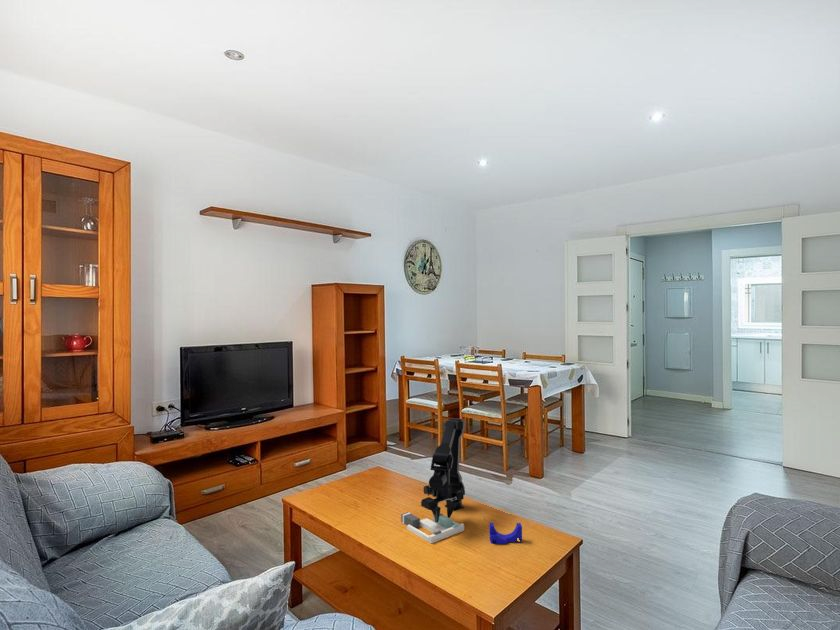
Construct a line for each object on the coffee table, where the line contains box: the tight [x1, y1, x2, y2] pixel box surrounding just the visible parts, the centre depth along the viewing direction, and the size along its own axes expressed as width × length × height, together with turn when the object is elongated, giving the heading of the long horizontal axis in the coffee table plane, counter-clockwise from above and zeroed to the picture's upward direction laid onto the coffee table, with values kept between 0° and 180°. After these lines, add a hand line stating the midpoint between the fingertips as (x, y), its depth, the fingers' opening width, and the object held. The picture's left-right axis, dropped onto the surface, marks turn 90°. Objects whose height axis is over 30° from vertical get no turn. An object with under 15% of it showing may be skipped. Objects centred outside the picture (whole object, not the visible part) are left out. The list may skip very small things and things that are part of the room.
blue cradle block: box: [488, 522, 523, 545], centre depth 181 cm, size 12×4×6 cm, turn 89°
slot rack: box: [406, 517, 465, 544], centre depth 190 cm, size 17×15×3 cm
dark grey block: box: [400, 511, 421, 529], centre depth 195 cm, size 4×8×4 cm, turn 38°
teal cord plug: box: [432, 513, 453, 529], centre depth 194 cm, size 4×8×4 cm, turn 38°
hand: (442, 519), depth 194 cm, fingers open, 6 cm apart
